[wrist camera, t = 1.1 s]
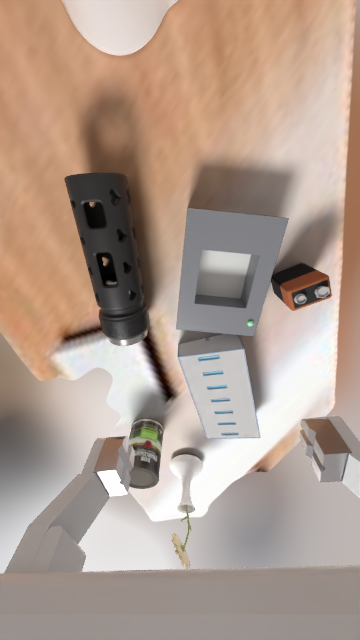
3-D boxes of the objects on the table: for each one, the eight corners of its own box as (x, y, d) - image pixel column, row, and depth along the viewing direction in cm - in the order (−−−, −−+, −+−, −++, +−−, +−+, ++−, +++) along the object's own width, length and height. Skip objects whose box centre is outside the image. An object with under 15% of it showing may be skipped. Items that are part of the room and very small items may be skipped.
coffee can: (136, 414, 65) (124, 463, 53) (168, 423, 67) (163, 473, 54) (127, 434, 70) (114, 484, 58) (158, 442, 71) (151, 492, 59)
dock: (187, 207, 39) (187, 208, 33) (275, 216, 39) (289, 218, 34) (177, 315, 49) (176, 330, 44) (246, 322, 50) (254, 337, 44)
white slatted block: (178, 342, 53) (177, 362, 47) (236, 329, 51) (244, 348, 44) (205, 421, 67) (207, 445, 60) (252, 413, 64) (260, 437, 58)
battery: (306, 281, 45) (336, 299, 36) (273, 293, 46) (294, 314, 37) (303, 261, 43) (333, 276, 34) (268, 275, 44) (289, 292, 36)
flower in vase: (169, 450, 73) (161, 555, 51) (202, 450, 73) (209, 557, 51) (171, 471, 79) (165, 574, 57) (202, 472, 79) (208, 575, 57)
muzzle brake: (135, 178, 37) (118, 170, 28) (154, 321, 50) (147, 347, 41) (81, 183, 38) (48, 176, 29) (114, 323, 51) (98, 349, 42)
